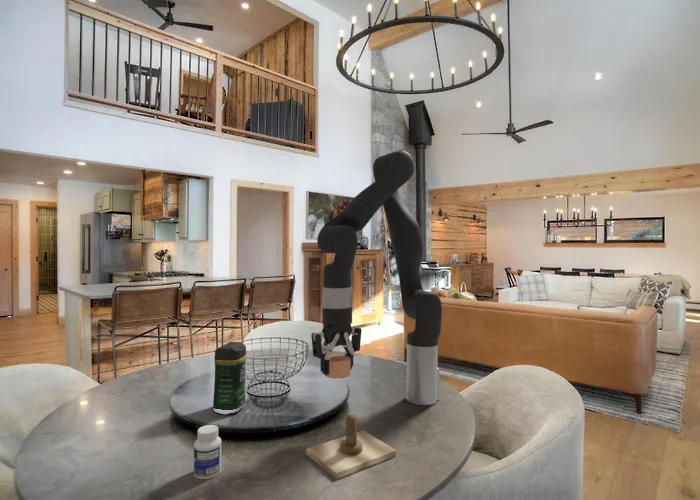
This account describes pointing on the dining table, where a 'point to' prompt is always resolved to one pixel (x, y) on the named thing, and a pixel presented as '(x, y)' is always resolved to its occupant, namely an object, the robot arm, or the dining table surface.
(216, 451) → the pill bottle
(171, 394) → the dining table surface
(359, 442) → the post
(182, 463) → the dining table surface
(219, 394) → the coffee jar
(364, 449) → the base board
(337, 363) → the ring
